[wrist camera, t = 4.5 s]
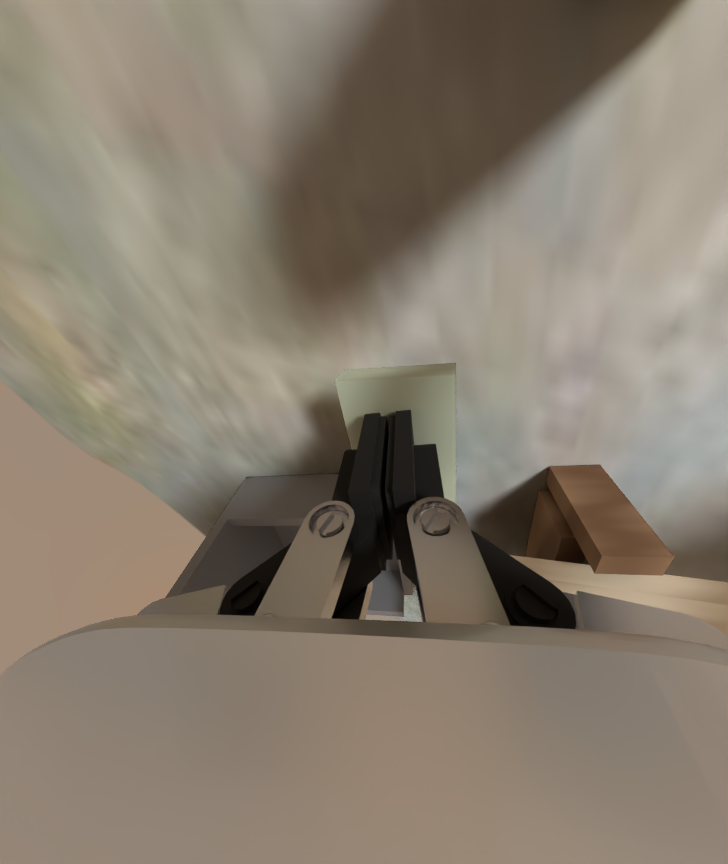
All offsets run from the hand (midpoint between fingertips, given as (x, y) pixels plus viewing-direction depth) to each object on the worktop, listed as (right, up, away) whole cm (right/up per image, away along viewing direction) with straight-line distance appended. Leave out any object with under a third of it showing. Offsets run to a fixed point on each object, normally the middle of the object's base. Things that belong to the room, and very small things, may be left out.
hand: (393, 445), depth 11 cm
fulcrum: (+11, -5, +8) cm, 14 cm away
